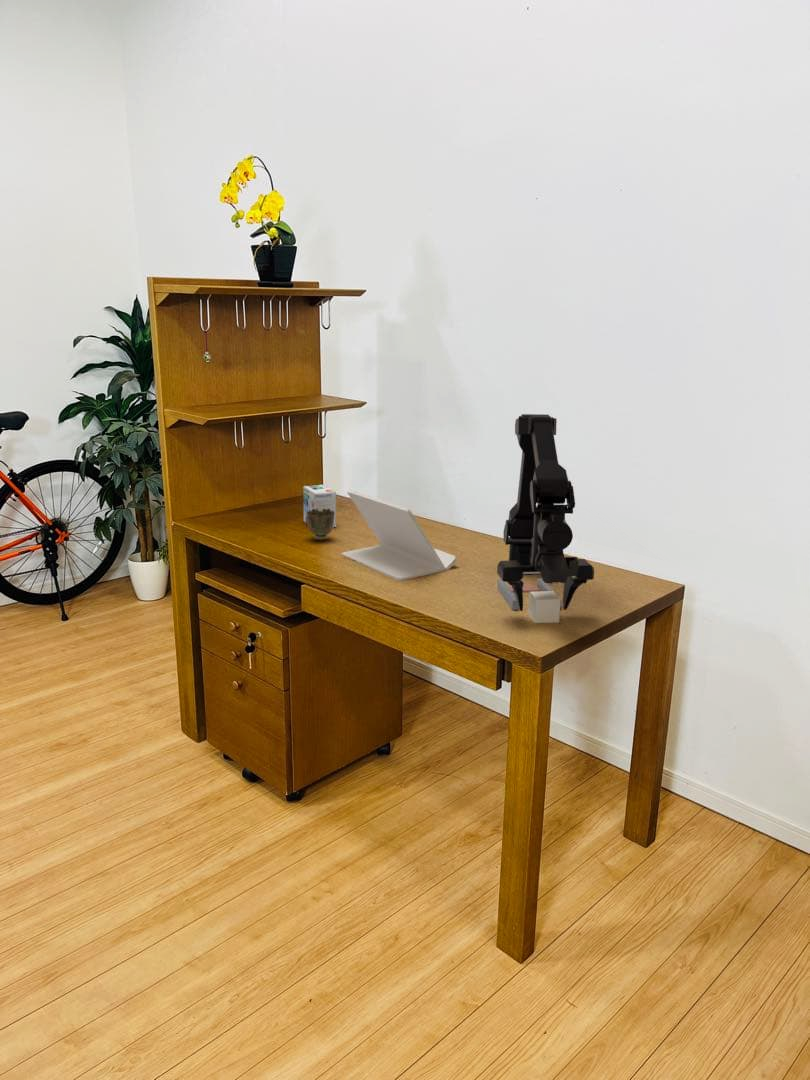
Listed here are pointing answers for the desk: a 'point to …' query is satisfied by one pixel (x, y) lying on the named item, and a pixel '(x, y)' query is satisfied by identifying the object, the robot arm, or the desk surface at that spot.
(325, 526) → the cup
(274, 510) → the desk surface
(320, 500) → the light bulb box
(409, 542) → the tablet stand
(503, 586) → the u-shaped bracket
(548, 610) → the cream block
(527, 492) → the robot arm
